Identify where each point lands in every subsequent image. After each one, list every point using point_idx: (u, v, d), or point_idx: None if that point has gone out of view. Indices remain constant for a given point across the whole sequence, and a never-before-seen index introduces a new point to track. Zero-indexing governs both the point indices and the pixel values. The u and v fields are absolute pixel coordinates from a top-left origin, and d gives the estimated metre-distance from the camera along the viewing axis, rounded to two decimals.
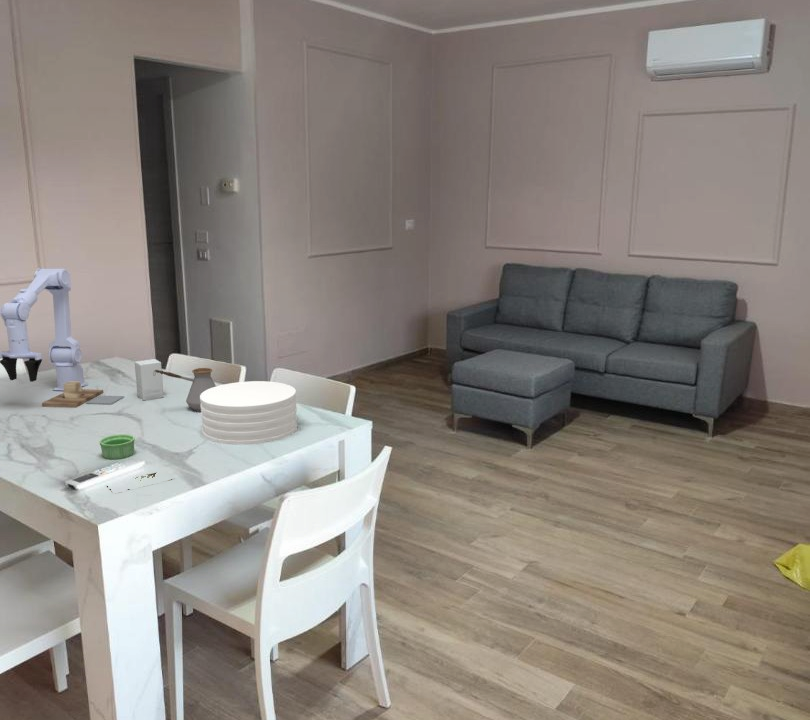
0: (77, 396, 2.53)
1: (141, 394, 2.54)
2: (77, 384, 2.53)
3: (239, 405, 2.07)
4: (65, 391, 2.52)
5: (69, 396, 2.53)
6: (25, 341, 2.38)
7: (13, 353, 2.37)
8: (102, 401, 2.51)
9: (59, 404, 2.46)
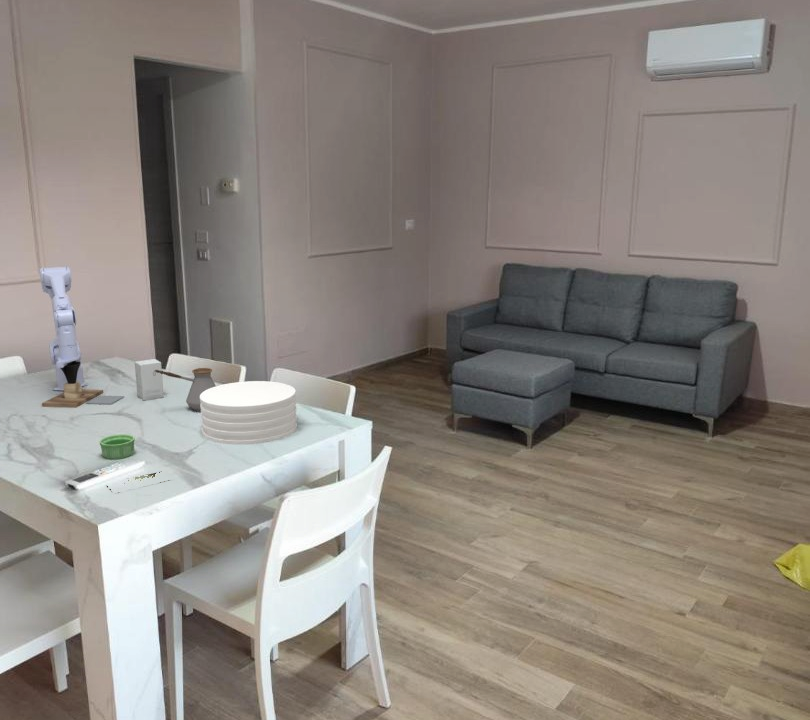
0: (77, 396, 2.53)
1: (141, 394, 2.54)
2: (77, 384, 2.53)
3: (239, 405, 2.08)
4: (65, 391, 2.52)
5: (69, 396, 2.53)
6: (63, 347, 2.48)
7: None
8: (102, 401, 2.51)
9: (59, 404, 2.46)
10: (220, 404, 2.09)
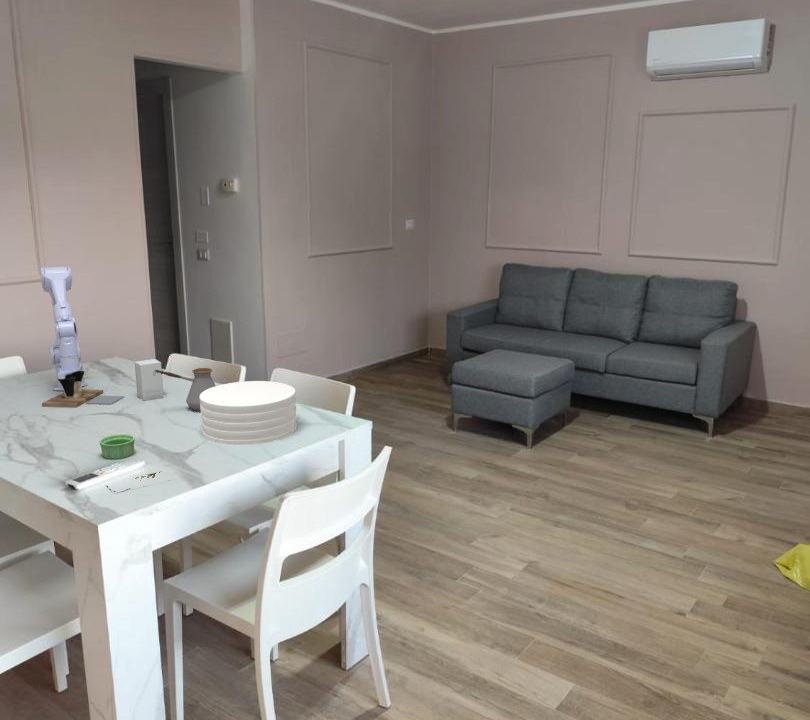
0: (77, 396, 2.53)
1: (141, 394, 2.54)
2: (77, 384, 2.53)
3: (239, 405, 2.08)
4: None
5: (69, 396, 2.53)
6: (64, 359, 2.49)
7: None
8: (102, 401, 2.51)
9: (59, 404, 2.46)
10: (220, 404, 2.09)
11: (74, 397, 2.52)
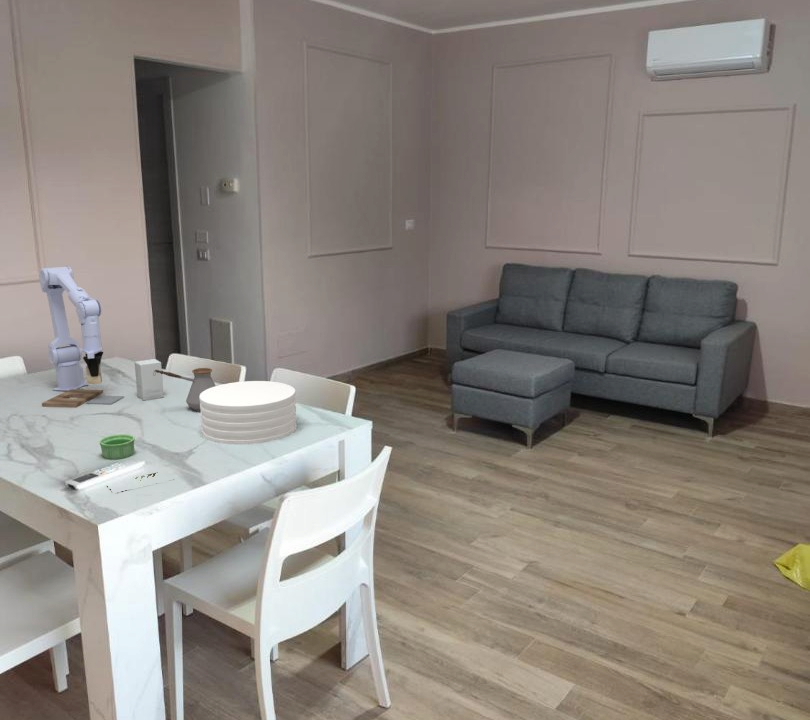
0: (100, 378, 2.52)
1: (141, 394, 2.54)
2: (99, 366, 2.51)
3: (238, 405, 2.08)
4: (88, 374, 2.49)
5: (93, 379, 2.50)
6: (90, 338, 2.46)
7: None
8: (102, 401, 2.51)
9: (59, 404, 2.46)
10: (220, 404, 2.09)
11: (98, 379, 2.50)
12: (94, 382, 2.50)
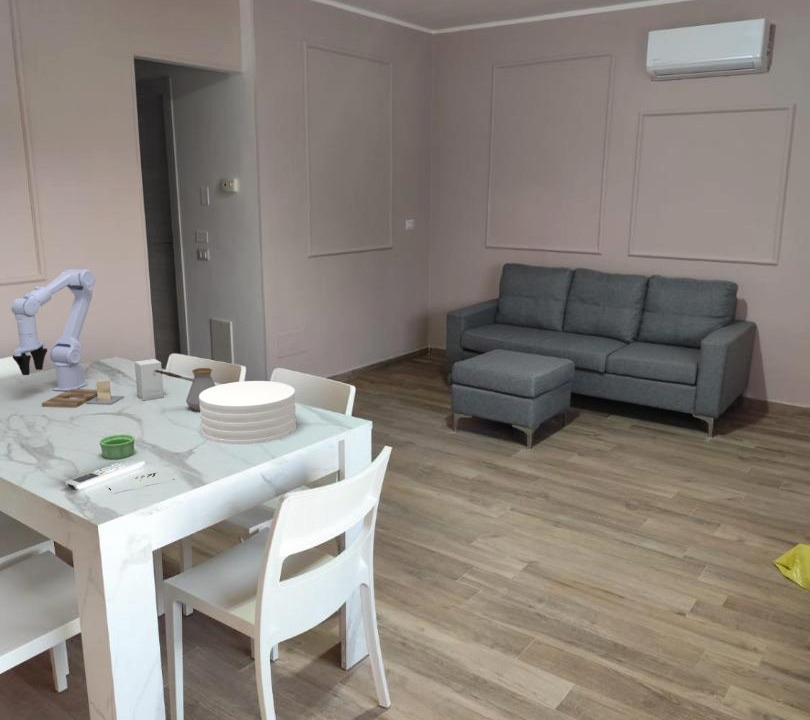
0: (110, 395, 2.53)
1: (141, 394, 2.54)
2: (109, 383, 2.53)
3: (238, 405, 2.08)
4: (98, 391, 2.50)
5: (103, 396, 2.51)
6: (22, 336, 2.49)
7: None
8: (102, 401, 2.51)
9: (59, 404, 2.46)
10: (219, 404, 2.09)
11: (108, 396, 2.52)
12: (104, 399, 2.51)
